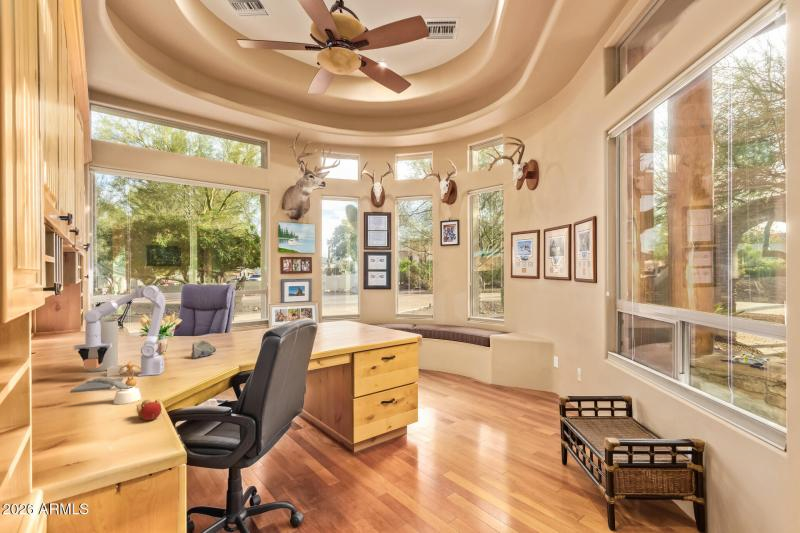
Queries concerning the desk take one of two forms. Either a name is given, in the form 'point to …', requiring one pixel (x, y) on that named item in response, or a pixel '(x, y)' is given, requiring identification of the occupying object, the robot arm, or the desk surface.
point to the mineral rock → (202, 349)
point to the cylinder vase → (107, 336)
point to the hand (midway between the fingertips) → (93, 363)
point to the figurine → (129, 366)
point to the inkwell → (126, 392)
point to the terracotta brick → (92, 363)
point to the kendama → (149, 409)
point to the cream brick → (115, 370)
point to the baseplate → (93, 386)
